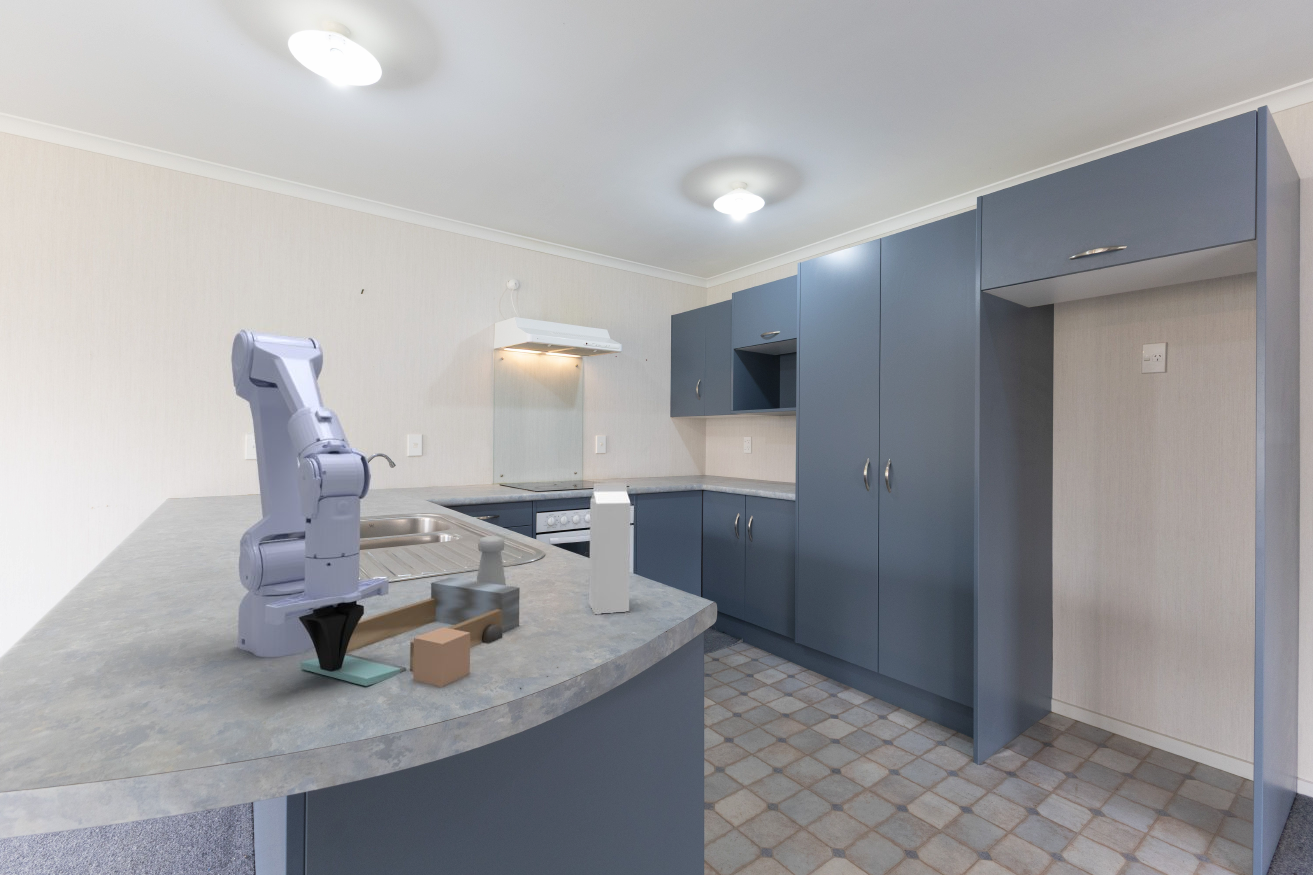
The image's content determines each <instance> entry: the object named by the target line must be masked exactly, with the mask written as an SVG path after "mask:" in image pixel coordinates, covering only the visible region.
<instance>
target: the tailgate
mask: <svg viewBox="0 0 1313 875" xmlns="http://www.w3.org/2000/svg"><path fill="white" fill-rule="evenodd" d="M300 670H303V671H309V672H313V673H315V674H320V675H323V676H327V677H330V678H334V679H338V680H342V681H346V682H349V683H353V684H357V685H360V686H365V687H368V686H371V685H375V684H377V683H381V682H383V681H385V680H387V679H388V680H389V679H390V678H392V677H394V676H395V677H396V676H397V675H399V674H402V673H404V672H406V671H407V668H406V667H404V666H401V665H397V664H391V663H390V662H389V663H388V662H385V661H380V660H376V659H371V658H366V657H363V656H360V655H359V656H358V655H355V654H350V653H346V654H345V657H344V661H343V664H342V668H341V669H338V670H335V671H333V672H329V671H326V670H322V669H320V664H319V660H318V657H317V658H313V659H308V660H304V661H301V662H300Z"/></svg>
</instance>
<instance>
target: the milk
mask: <svg viewBox="0 0 1313 875" xmlns="http://www.w3.org/2000/svg"><path fill="white" fill-rule="evenodd" d="M592 487H593V492H592V495H591V497H590V501H589V502H590V506H589V507H590V508H589V511H590V512H589V513H590V516H589V581H588V582H589V584H588V585H589V586H588V587H589V589H588V590H589V592H588V596H589V597H588V599H589V600H588V606H589V605H590V606H589V607H590V609H591V608H592V609H591V610H592V612H593V614H594V615H595V614H597V615H602V614H601V613H611V614H614V613H613V612H625V611H629V612H630V579H631V578H630V573H631V572H630V568H631V566H630V565H631V562H630V560H631V559H630V558H631V557H630V556H631V553H630V552H631V501H630V497H629V494H628V484H627V483H626V482H599V483H598V482H595V483H594V484H593V486H592ZM625 613H626V612H625Z"/></svg>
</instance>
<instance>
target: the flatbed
mask: <svg viewBox="0 0 1313 875" xmlns="http://www.w3.org/2000/svg"><path fill="white" fill-rule="evenodd" d="M430 585H431V586H430V598H428V599H424V600H420V601H417V602H414V603H411V604H407V605H405V606H401V607H398V608H394V609H391V610H388V611H385V612H382V613H378V614H375V615H373V616H369V617H365V618H361V619H360V620H359V622H358V624H357V626H356V627H355V629H354V631H353V634H352V636H351V638H350V641H349V644H348V647H347V650H346V653H347V654H349V653H350V652H353V651H356V650H359V649H361V648H364V647H367V646H369V645H372V644H375V643H378V642H382V641H384V640H386V639H389V638H392V637H395V636H397V635H401V634H403V633H406V632H409V631H411V630H414V629H417V628H420V627H423V626H425V625H428V624H431V623H434V622H439V623H443V624H444V623H445V624H450V625H451V626H449V627H447V628H449V629H454V630H459V631H464V632H470V648H472V647H474V646H477V645H479V644H481V643H485V644H491V643H493V642H495V641H498V640H500V639H501V638H503V636H504V635H503V633H506V632H508V631H511V630H513V629H515V628H518V627H520V592H521V591H520V586H519V587H518V586H511V585H506V586H505V585H498V584H491V583H484V582H477V580H470V579H462V578H457V577H456V578H455V577H447V578H444V579H440V580H437V581H433V582H431V583H430ZM409 649H410V650H409V652H410V653H409V670H410V671H412V672H413V663H414V640H412V641H410V644H409Z"/></svg>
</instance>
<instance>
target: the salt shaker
mask: <svg viewBox="0 0 1313 875" xmlns="http://www.w3.org/2000/svg"><path fill="white" fill-rule="evenodd" d="M477 549H478V552H481V556H480V561H479V565H478V571H477V575H476V576H477V577H476V581H477V582H484V583H491V584H498V585H505V586H507V583H506V576H505V570H504V564H503V558H502V551H504V549H505V539H504V538H503V537H501V536H498V535H497V536H496V535H487V536H483V537H481V538H480V539H479V540H478V545H477Z"/></svg>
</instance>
